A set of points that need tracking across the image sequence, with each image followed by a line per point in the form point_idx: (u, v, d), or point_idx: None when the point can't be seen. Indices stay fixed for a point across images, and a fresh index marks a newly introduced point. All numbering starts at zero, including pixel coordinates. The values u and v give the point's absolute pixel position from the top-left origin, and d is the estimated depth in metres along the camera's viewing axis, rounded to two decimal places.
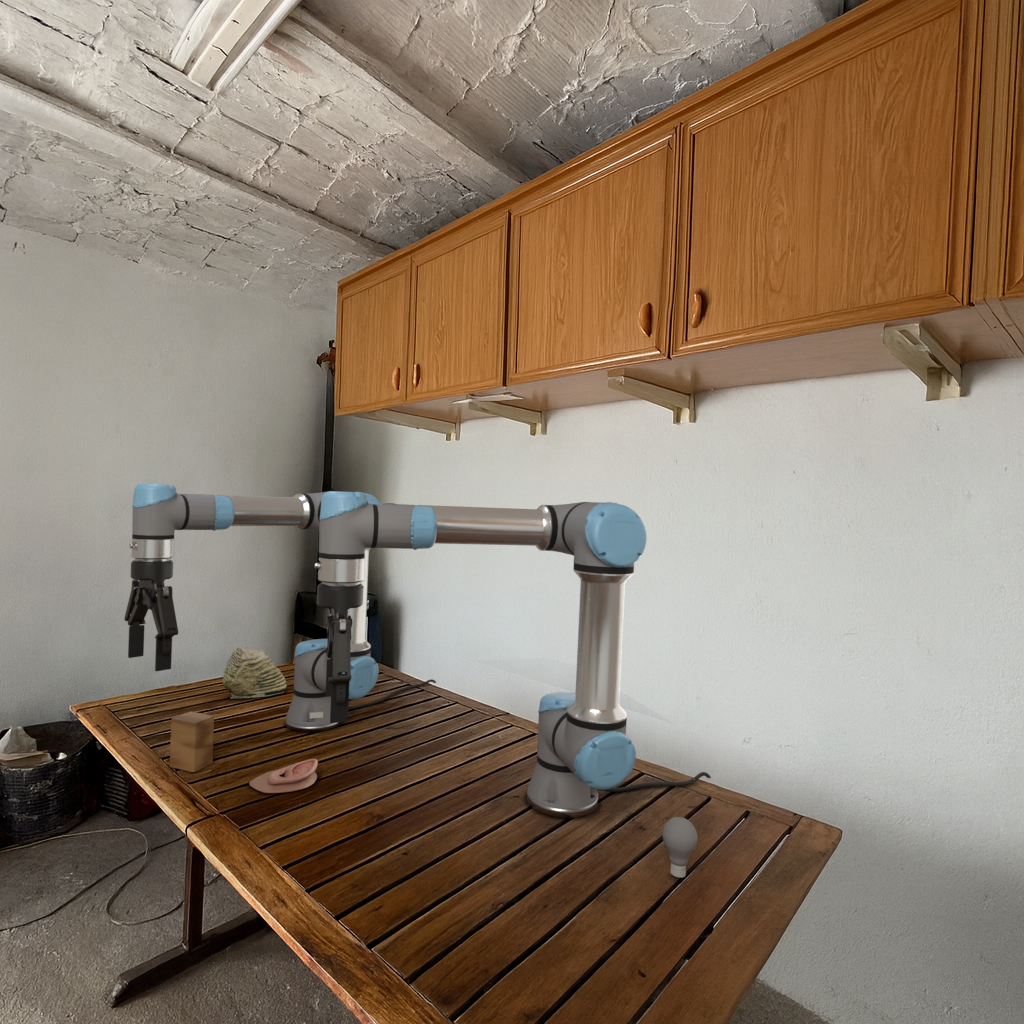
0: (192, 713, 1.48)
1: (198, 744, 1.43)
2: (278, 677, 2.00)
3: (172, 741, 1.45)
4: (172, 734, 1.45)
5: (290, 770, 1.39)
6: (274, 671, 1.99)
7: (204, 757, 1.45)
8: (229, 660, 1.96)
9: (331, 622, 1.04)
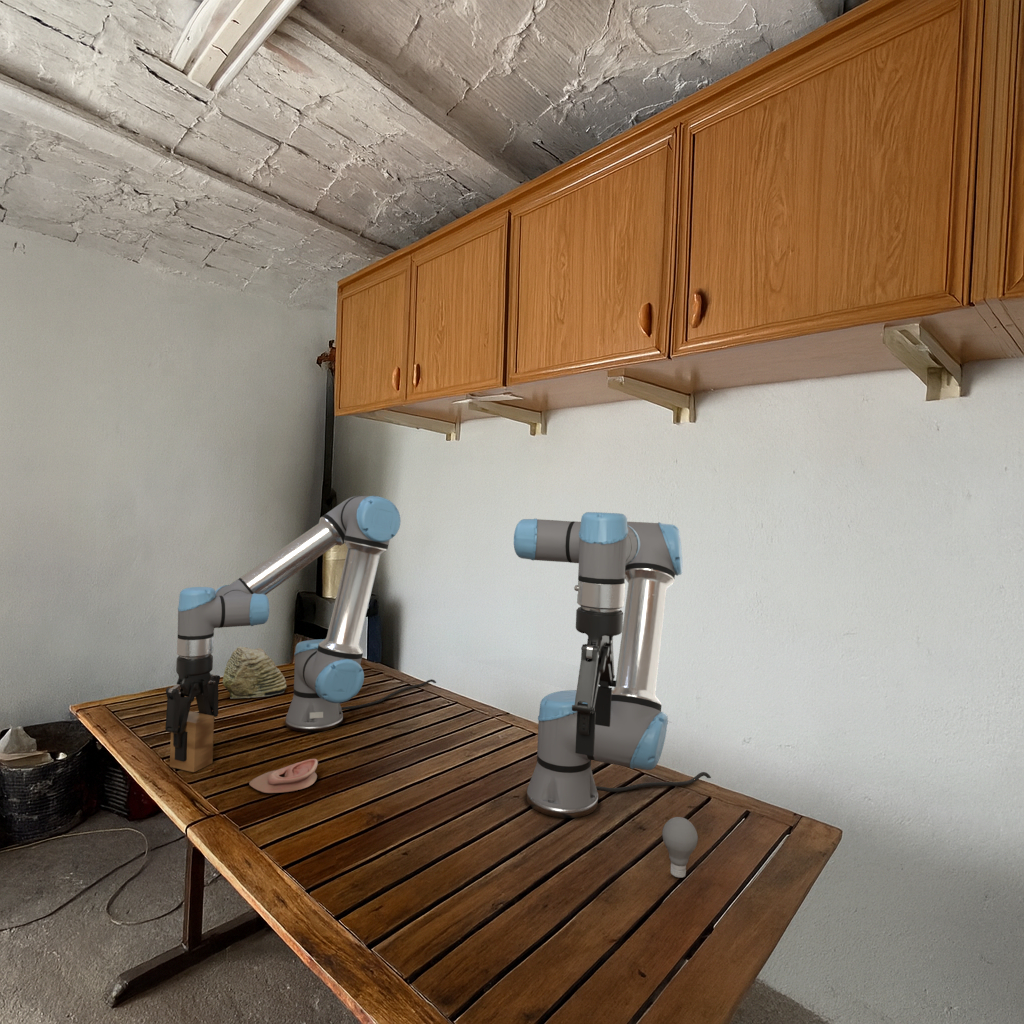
0: (192, 713, 1.48)
1: (198, 744, 1.43)
2: (278, 677, 2.00)
3: (172, 741, 1.45)
4: (172, 734, 1.45)
5: (290, 770, 1.39)
6: (274, 671, 1.99)
7: (204, 757, 1.45)
8: (229, 660, 1.96)
9: None
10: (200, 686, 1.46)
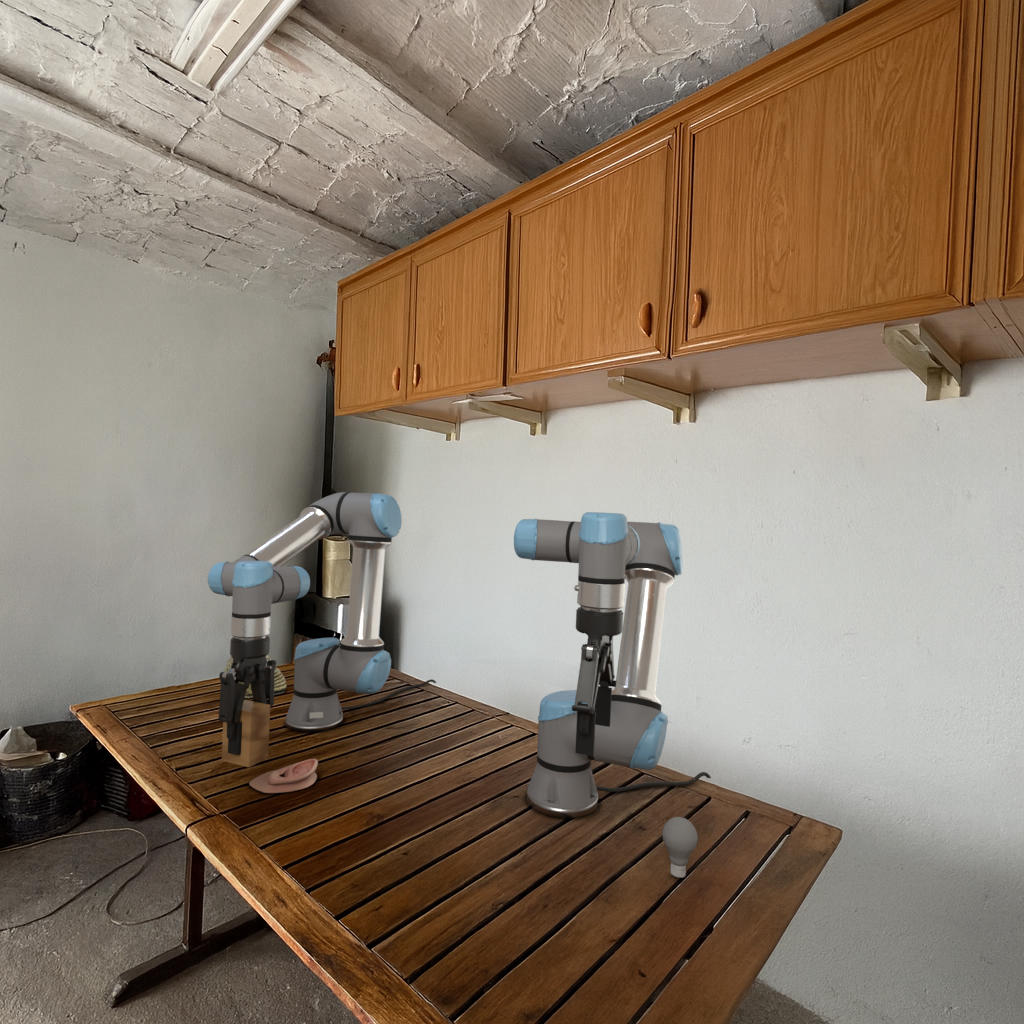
0: (246, 701, 1.33)
1: (253, 735, 1.28)
2: (278, 677, 2.00)
3: (224, 732, 1.29)
4: (225, 724, 1.29)
5: (290, 770, 1.39)
6: (274, 671, 1.99)
7: (260, 751, 1.30)
8: (229, 660, 1.96)
9: None
10: (255, 672, 1.31)
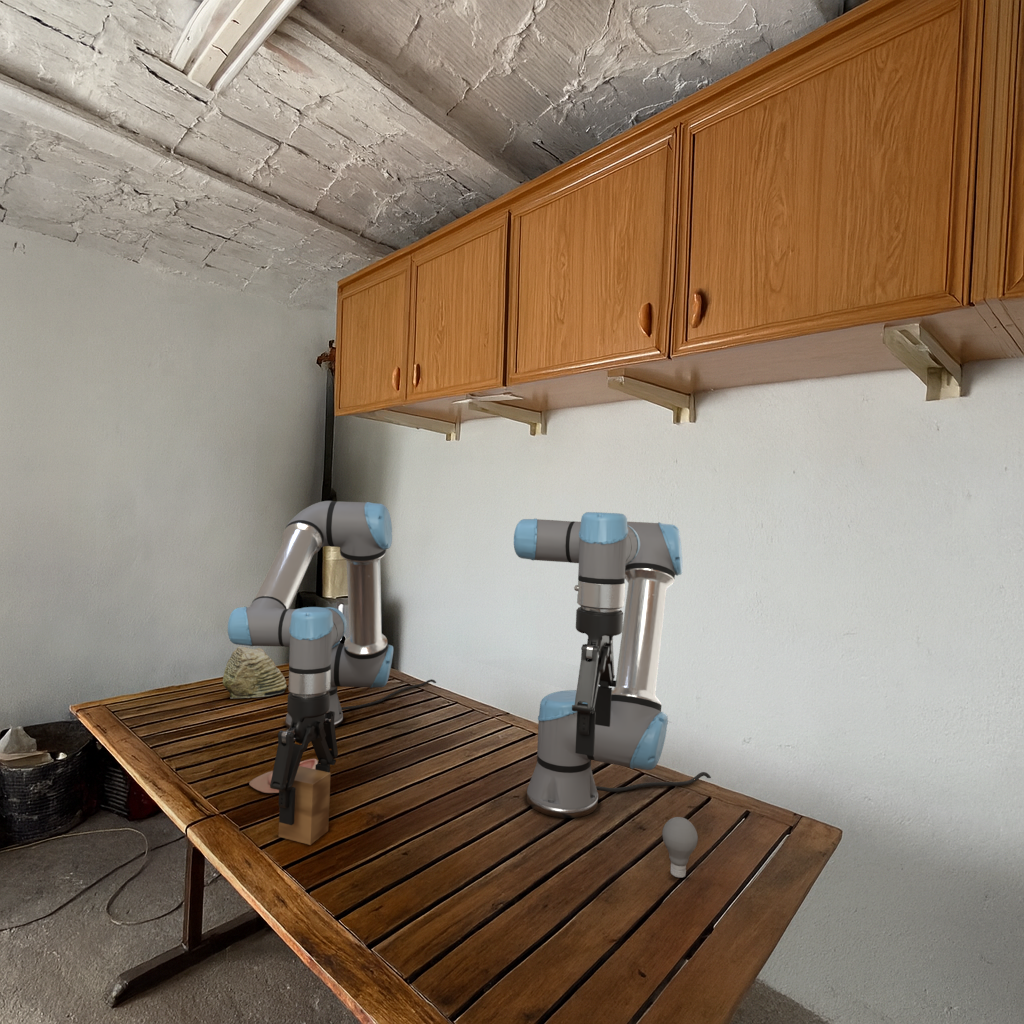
0: (303, 769, 1.21)
1: (315, 809, 1.16)
2: (278, 677, 2.00)
3: None
4: None
5: None
6: (274, 671, 1.99)
7: (321, 825, 1.18)
8: (229, 660, 1.96)
9: None
10: (314, 730, 1.19)
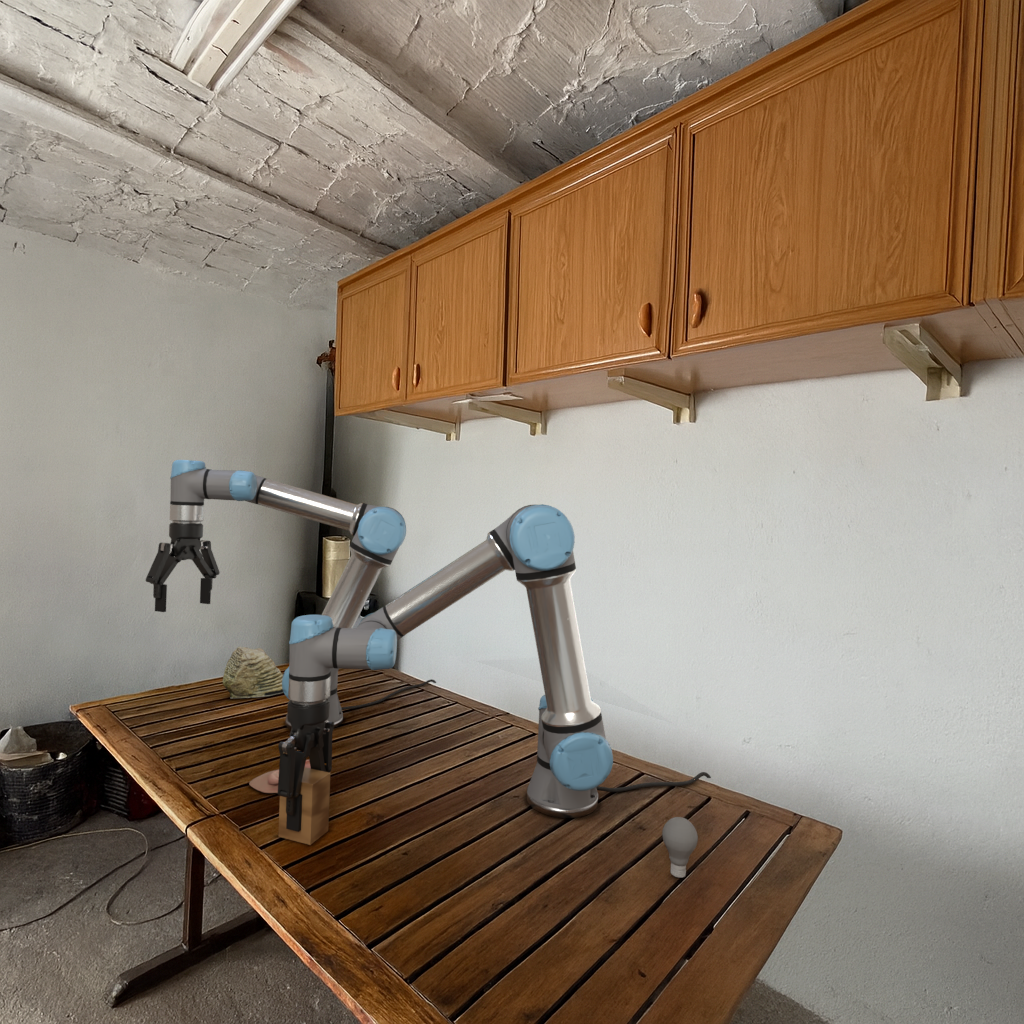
0: None
1: (315, 809, 1.16)
2: (278, 677, 2.00)
3: (282, 805, 1.17)
4: (282, 797, 1.17)
5: None
6: (274, 671, 1.99)
7: (321, 825, 1.18)
8: (229, 660, 1.96)
9: None
10: (191, 552, 1.58)
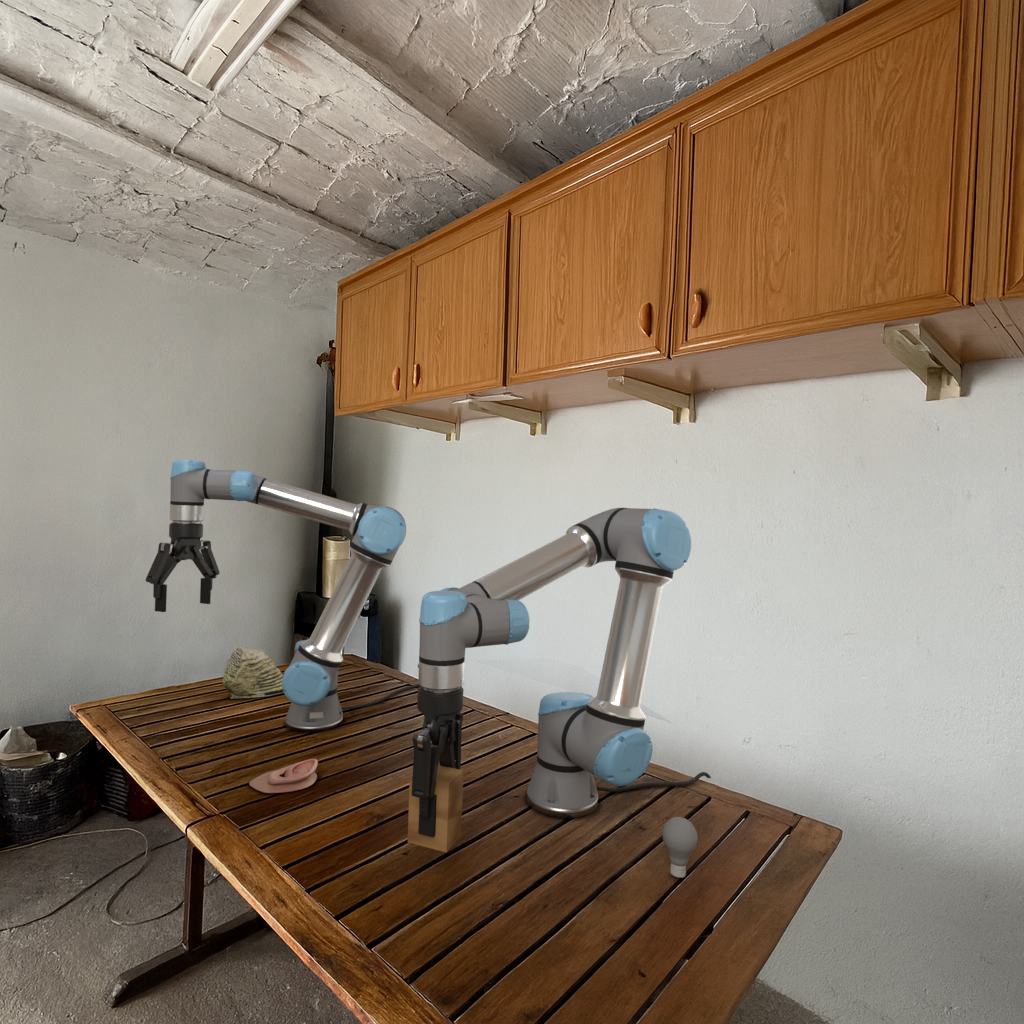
0: None
1: (450, 812, 1.02)
2: (278, 677, 2.00)
3: (412, 807, 1.03)
4: (411, 797, 1.03)
5: (290, 770, 1.39)
6: (274, 671, 1.99)
7: (455, 830, 1.04)
8: (229, 660, 1.96)
9: None
10: (191, 552, 1.58)
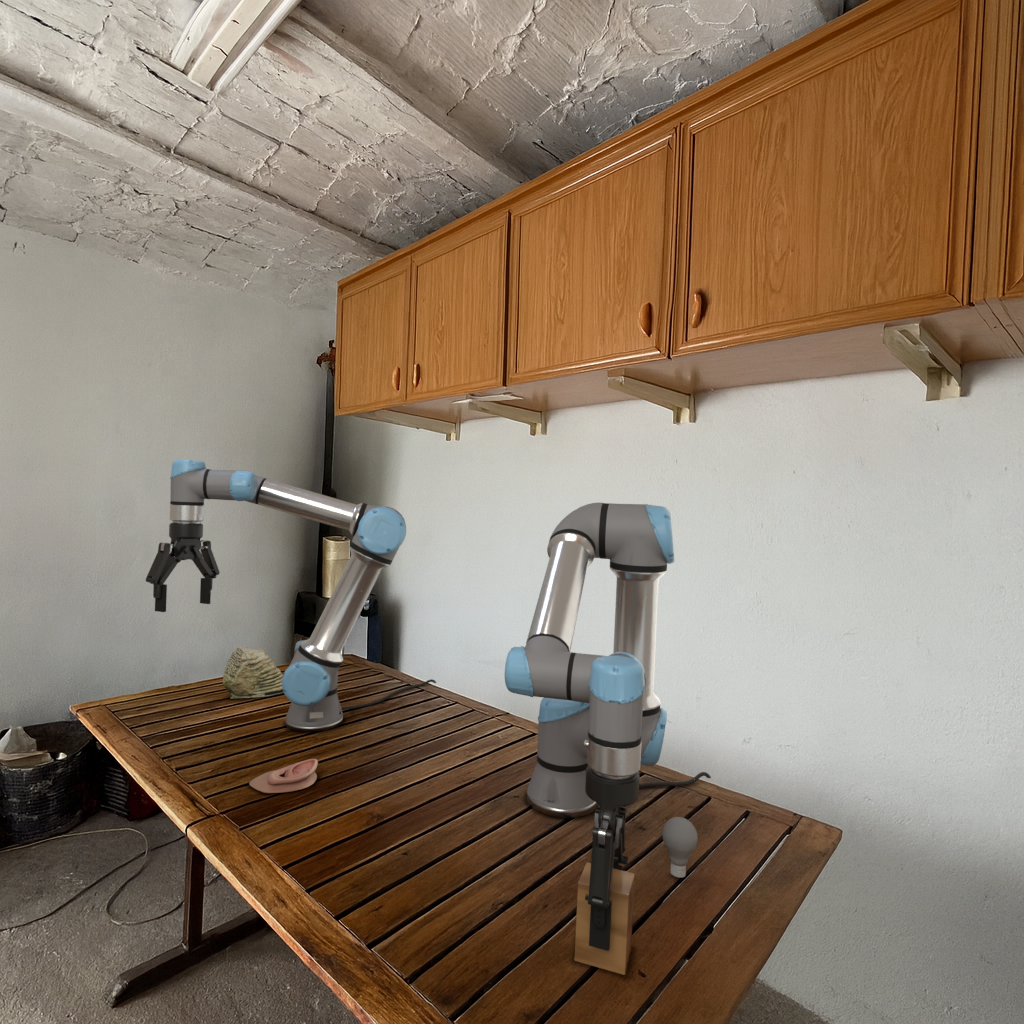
0: None
1: (628, 926, 0.88)
2: (278, 677, 2.00)
3: (580, 920, 0.89)
4: (580, 908, 0.89)
5: (290, 770, 1.39)
6: (274, 671, 1.99)
7: (629, 945, 0.90)
8: (229, 660, 1.96)
9: None
10: (191, 552, 1.58)
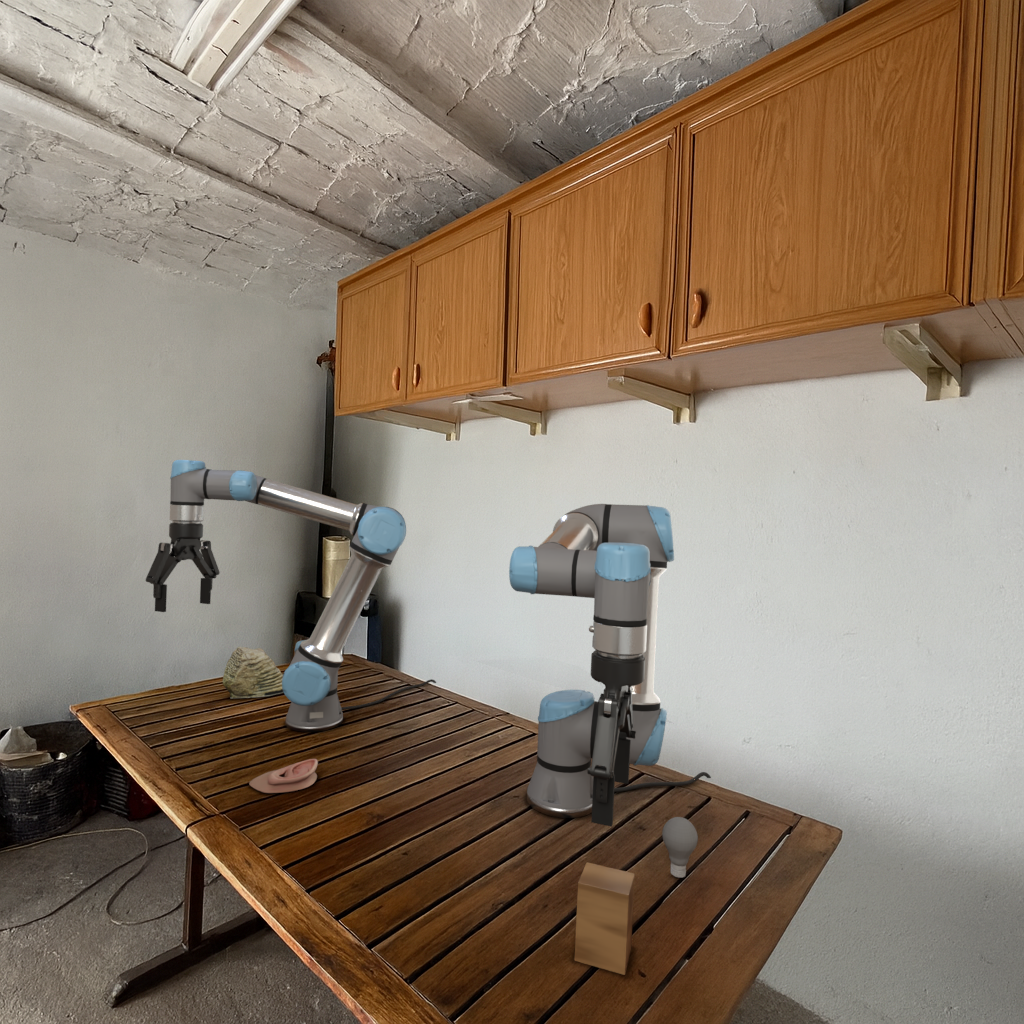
0: (595, 868, 0.93)
1: (628, 926, 0.88)
2: (278, 677, 2.00)
3: (580, 920, 0.89)
4: (580, 909, 0.89)
5: (290, 770, 1.39)
6: (274, 671, 1.99)
7: (629, 945, 0.90)
8: (229, 660, 1.96)
9: None
10: (191, 552, 1.58)
